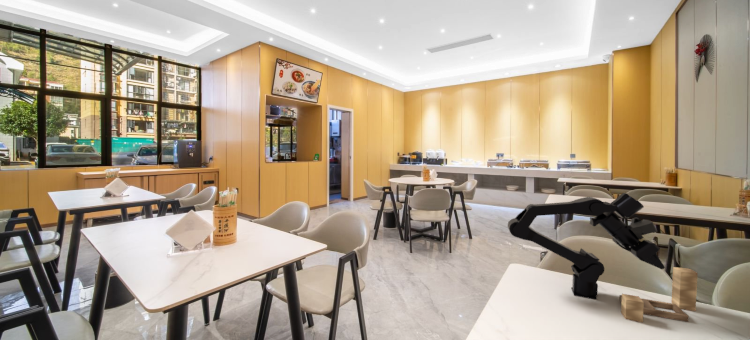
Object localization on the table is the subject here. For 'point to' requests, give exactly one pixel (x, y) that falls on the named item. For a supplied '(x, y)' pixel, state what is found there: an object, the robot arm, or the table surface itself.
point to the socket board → (651, 310)
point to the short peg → (632, 307)
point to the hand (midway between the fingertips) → (655, 263)
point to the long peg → (684, 288)
